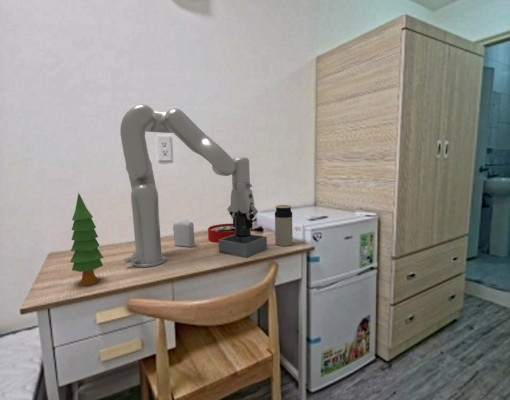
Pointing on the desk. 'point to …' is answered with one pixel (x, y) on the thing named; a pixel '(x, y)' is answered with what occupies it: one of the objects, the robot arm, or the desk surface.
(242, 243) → the box
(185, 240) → the photo printer
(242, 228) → the supplement bottle
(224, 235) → the toy clock
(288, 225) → the travel mug
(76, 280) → the desk surface
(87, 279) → the decorative tree
